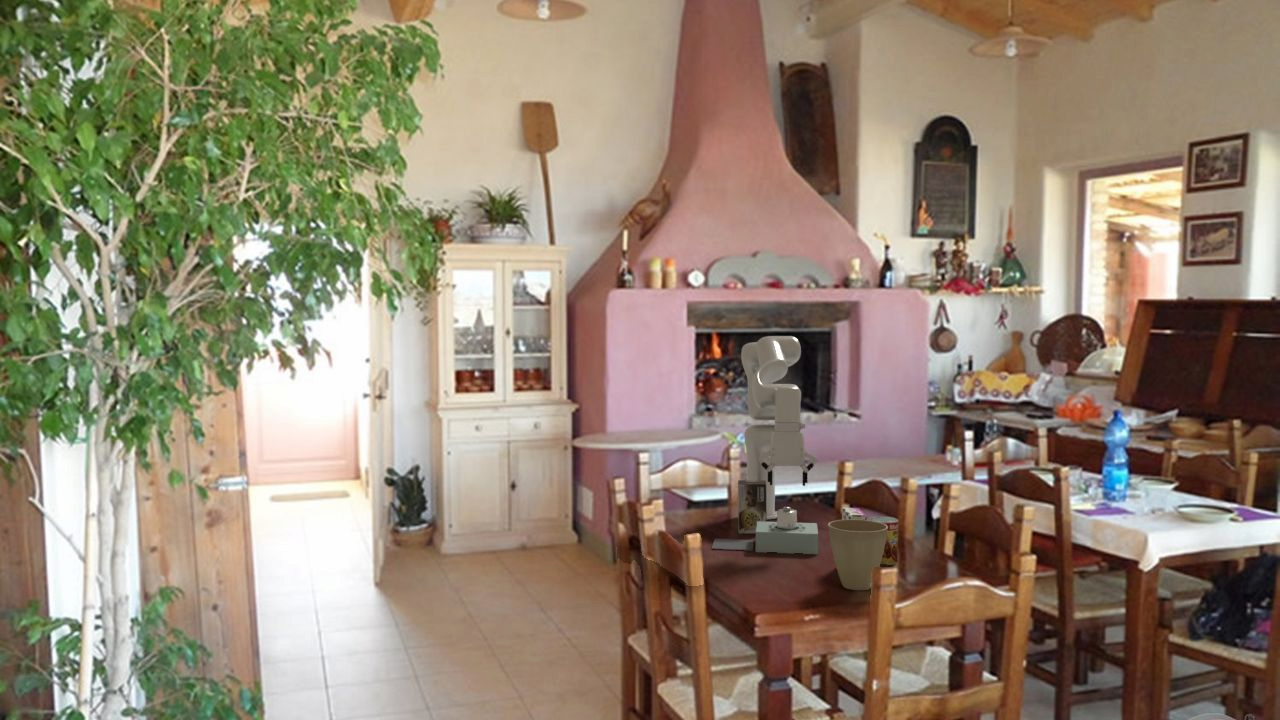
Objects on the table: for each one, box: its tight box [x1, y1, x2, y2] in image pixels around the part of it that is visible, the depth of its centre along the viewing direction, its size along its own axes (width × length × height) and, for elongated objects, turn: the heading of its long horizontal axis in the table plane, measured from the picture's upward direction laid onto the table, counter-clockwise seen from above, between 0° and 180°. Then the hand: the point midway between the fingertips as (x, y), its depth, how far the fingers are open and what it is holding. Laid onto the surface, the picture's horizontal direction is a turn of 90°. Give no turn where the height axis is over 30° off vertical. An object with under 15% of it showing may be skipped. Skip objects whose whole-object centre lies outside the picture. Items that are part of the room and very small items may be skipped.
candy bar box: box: [841, 507, 868, 520], centre depth 259 cm, size 11×5×16 cm, turn 178°
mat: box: [711, 538, 755, 552], centre depth 287 cm, size 12×12×1 cm
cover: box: [776, 506, 798, 530], centre depth 285 cm, size 6×6×10 cm
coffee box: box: [737, 479, 768, 534], centre depth 305 cm, size 9×6×16 cm
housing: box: [755, 521, 819, 555], centre depth 285 cm, size 14×18×6 cm
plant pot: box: [827, 519, 888, 591], centre depth 244 cm, size 15×15×16 cm
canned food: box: [869, 515, 899, 566], centre depth 269 cm, size 8×8×12 cm
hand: (787, 485), depth 283 cm, fingers open, 9 cm apart
